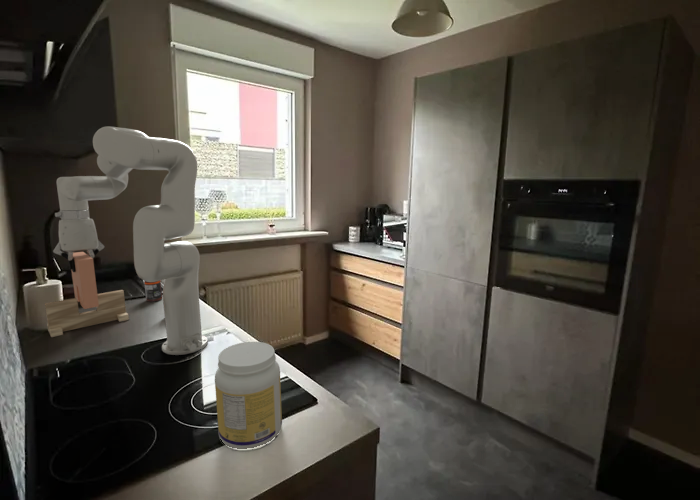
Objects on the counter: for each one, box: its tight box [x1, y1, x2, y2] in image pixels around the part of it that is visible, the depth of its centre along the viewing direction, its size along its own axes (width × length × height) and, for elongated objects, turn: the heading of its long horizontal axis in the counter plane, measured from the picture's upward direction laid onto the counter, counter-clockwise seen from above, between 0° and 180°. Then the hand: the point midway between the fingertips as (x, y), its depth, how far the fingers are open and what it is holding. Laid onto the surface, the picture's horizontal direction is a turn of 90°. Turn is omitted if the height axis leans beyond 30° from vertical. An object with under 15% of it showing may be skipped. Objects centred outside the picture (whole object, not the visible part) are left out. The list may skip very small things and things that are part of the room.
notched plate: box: [70, 251, 99, 310], centre depth 128 cm, size 16×4×16 cm, turn 44°
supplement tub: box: [214, 341, 283, 449], centre depth 73 cm, size 12×12×17 cm
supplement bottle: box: [143, 280, 163, 303], centre depth 156 cm, size 6×6×11 cm
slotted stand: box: [44, 289, 130, 338], centre depth 130 cm, size 8×22×10 cm, turn 134°
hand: (82, 269), depth 127 cm, fingers closed on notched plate, 4 cm apart
